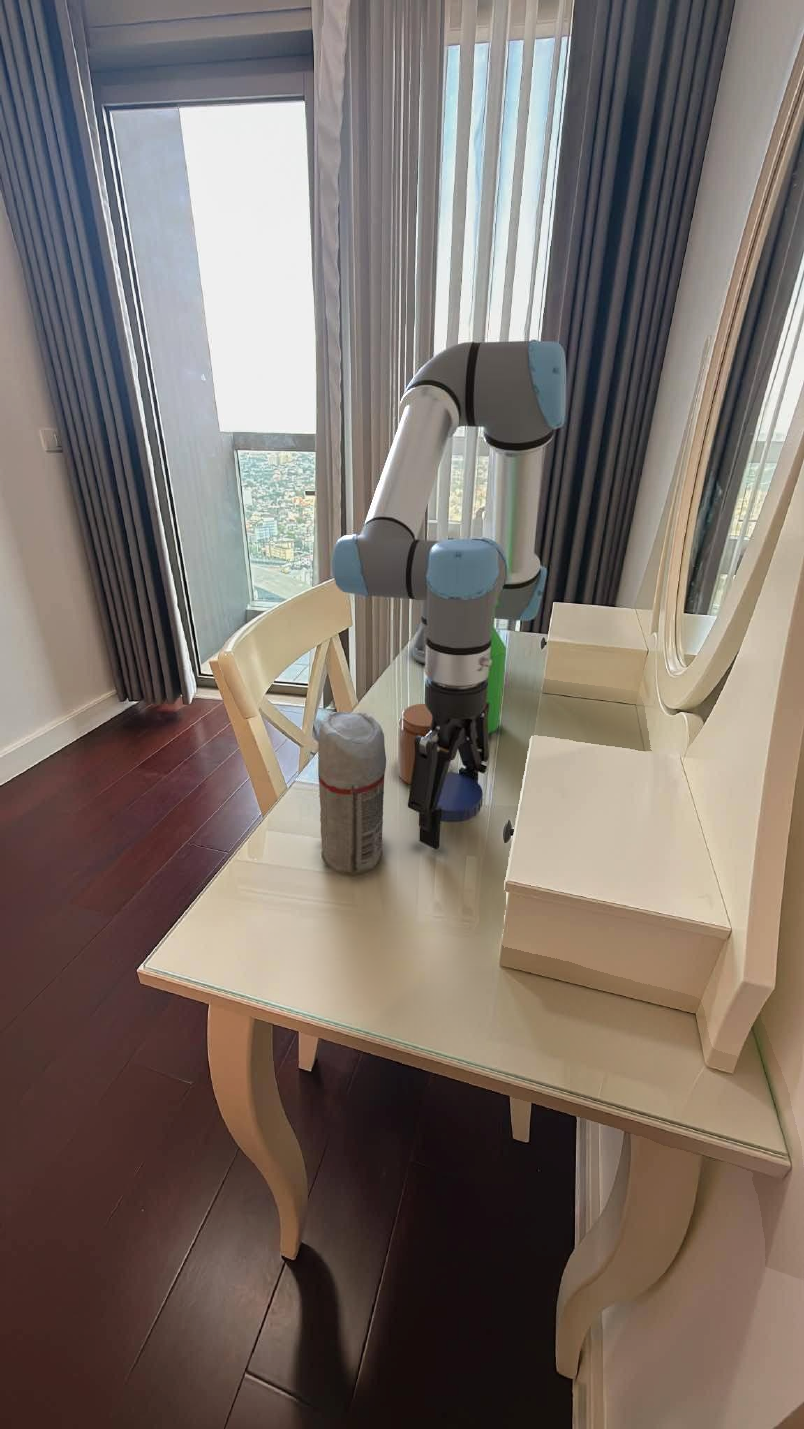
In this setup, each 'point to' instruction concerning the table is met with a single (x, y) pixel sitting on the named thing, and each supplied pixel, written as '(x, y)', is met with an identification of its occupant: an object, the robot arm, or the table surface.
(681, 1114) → the table surface
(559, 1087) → the table surface
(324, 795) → the spray can
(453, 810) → the lid
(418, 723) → the jar
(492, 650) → the bottle
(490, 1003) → the table surface
